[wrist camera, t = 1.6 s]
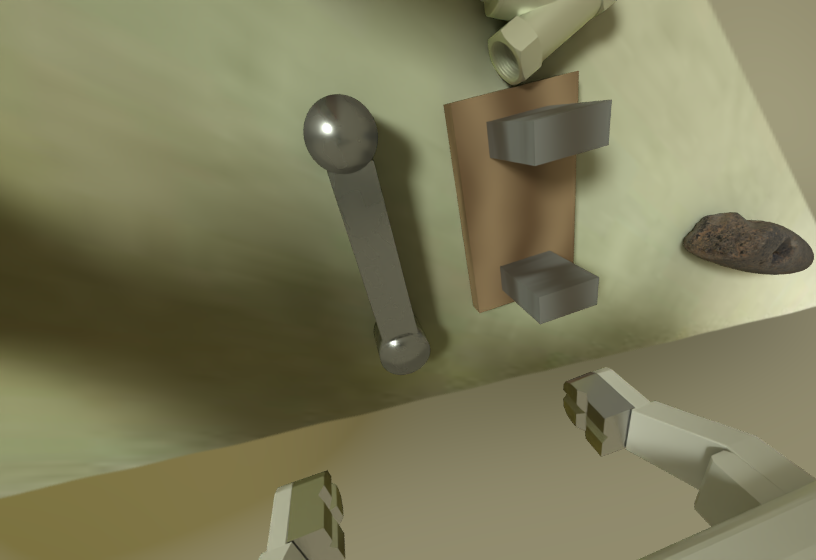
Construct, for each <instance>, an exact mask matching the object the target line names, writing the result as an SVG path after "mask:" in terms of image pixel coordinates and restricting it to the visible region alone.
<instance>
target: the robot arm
mask: <svg viewBox="0 0 816 560" xmlns="http://www.w3.org/2000/svg"><path fill="white" fill-rule="evenodd" d="M563 390H564V391H565V392H566V393H567V394H566V396H565V397H564V399H563V401H564V408H565V411H566V413H567V415H568V417H569V419H570V420H571V421H572V423H573V424H574V425H575V426H576V427H578V428H580V429H582V430H584V431H585V436H586V439H587V441H588V442H589V443H590V444H591V445H592V446H593V448H594V449H595V450H596V451H597V452H598V454H599V455H600V456H601V457H602V456H604V455H607V454H610V453H613V452H615V451H618V450H621V449H623V448H626V450H628V451H630V452H631V453H633V454H635V455H637V456H639V457H640V458H643V459H644V460H646V461H648V462H650V463H651V464H653V465H655V466H657V467H659V468H661V469H662V470H664V471H666V472H668V473H669V474H671V475H673V476H675V477H677V478H679V479H680V480H682V481H684V482H686V483H688V484H689V485H691V486H693V487H695V488H697V489H699V492H698V494H697V497H696V500H695V503H694V505H695V506H694V507H695V510H696V511H697V512H698V513H699V514H700V515H701V516H702V517H703V518H704V520H705V521H706V522H707V523H708V524H709V525H710V526H711V527H710V528H708V529H706V530H703V531H701V532H699V533H697V534H694V535H692V536H690V537H688V538H686V539H683V540H681V541H679V542H676V543H674V544H672V545H670V546H667V547H665V548H663V549H661V550H659V551H656V552H654V553H652V554H650V555H647V556H645V557H643V558H640V559H638V560H816V479H815V478H814V477H813V476H811V475H810V474H808V473H807V472H806V471H804V470H803V469H802V468H800V467H799V466H797V465H796V464H795V463H793V462H792V461H791V460H789V459H788V458H786V457H785V456H783V455H782V454H781V453H779V452H778V451H777V450H775V449H774V448H772V447H771V446H770V445H768V444H767V443H765V442H764V441H763V440H761V439H760V438H758V437H757V436H755V435H752V434H749V433H747V432H744V431H741V430H738V429H735V428H732V427H729V426H726V425H724V424H721V423H718V422H715V421H712V420H709V419H706V418H704V417H701V416H698V415H695V414H692V413H689V412H686V411H684V410H681V409H678V408H675V407H672V406H669V405H666V404H663V403H661V402H658V401H652V402H650V401H649V400H648V399H647V398H645V397H644V396H643V395H642V394H641V393H639V392H638V391H637V390H636V389H635V388H633V387H632V386H631V385H630V384H629V383H627V382H626V381H625V380H624V379H623V378H621V377H620V376H619V375H618V374H617V373H615V372H614V371H613V370H612V369H611V368H608V367H603V368H601V369H598V370H596V371H593V372H589V373H586V374H584V375H581V376H579V377H576V378H574V379H571V380H569V381H566V382H565V383H564V388H563ZM342 519H343V505H342V499H341V495H340V492H339V489H338V487H337V486H336V484H333V483H331V475H330V474H329V472H328V471H324V472H321V473H318V474H315V475H312V476H310V477H307V478H304V479H301V480H298V481H295V482H292V483H290V484H287V485H284V486H281V487H278V488H277V491H276V493H275V496H274V503H273V510H272V518H271V525H270V532H269V539H268V546H267V551H266V552H264V553H262V554H261V555H260V557H259V559H258V560H345V540H344V532H343V531H342V529H341V527H340V526H339V525H340V523H341V521H342Z"/></svg>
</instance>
